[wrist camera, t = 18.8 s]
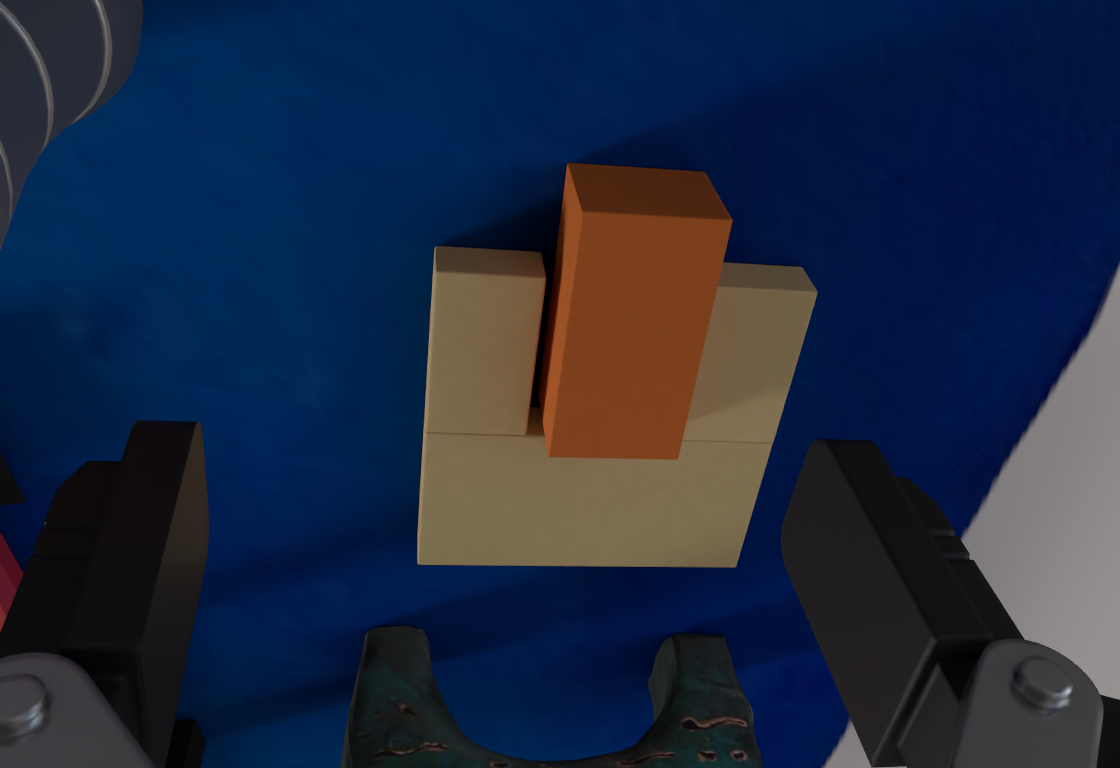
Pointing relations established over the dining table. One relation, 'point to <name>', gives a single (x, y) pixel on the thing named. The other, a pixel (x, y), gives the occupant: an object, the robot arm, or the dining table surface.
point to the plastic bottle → (56, 75)
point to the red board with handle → (3, 581)
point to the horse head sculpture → (459, 764)
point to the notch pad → (593, 483)
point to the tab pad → (629, 309)
